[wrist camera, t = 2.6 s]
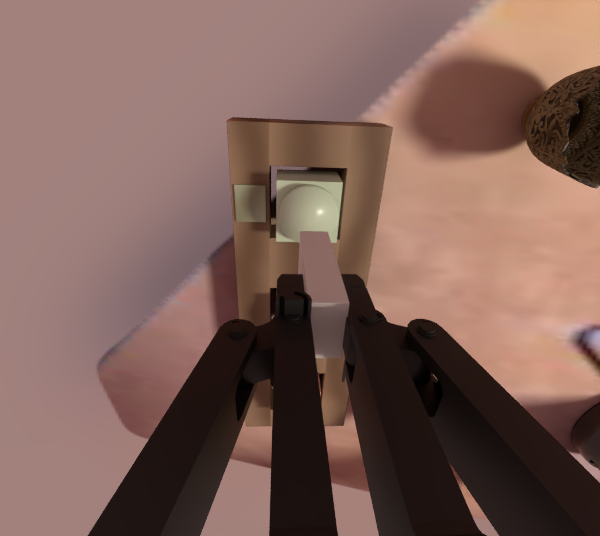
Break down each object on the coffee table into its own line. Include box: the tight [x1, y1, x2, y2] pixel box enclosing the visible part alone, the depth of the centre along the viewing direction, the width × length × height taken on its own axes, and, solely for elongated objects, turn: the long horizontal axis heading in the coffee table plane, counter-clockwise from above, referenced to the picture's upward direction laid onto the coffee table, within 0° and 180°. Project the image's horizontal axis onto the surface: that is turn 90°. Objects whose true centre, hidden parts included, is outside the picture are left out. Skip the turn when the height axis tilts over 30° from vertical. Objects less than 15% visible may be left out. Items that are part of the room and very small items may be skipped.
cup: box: [522, 66, 600, 188], centre depth 23 cm, size 8×7×8 cm
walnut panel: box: [227, 117, 393, 426], centre depth 33 cm, size 12×34×3 cm, turn 178°
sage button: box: [276, 170, 343, 243], centre depth 26 cm, size 5×5×4 cm
